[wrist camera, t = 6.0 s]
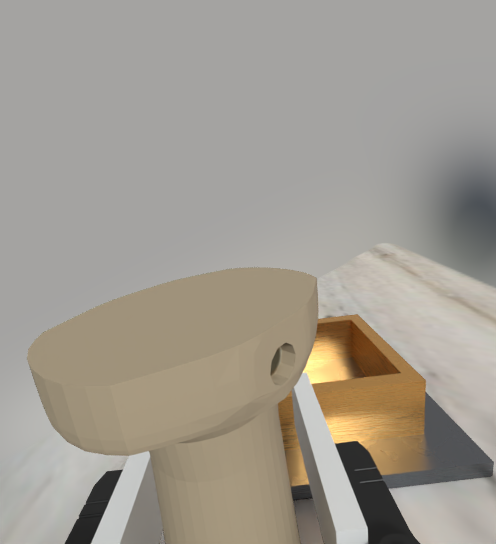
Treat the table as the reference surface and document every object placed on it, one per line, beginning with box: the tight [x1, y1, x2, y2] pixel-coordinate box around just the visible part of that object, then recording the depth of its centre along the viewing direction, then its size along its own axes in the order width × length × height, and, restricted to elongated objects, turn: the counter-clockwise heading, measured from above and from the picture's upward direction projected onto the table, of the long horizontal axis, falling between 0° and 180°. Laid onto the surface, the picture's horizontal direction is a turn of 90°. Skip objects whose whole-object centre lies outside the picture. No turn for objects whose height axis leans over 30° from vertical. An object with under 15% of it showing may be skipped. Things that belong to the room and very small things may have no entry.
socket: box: [278, 314, 494, 500], centre depth 24 cm, size 16×16×5 cm
